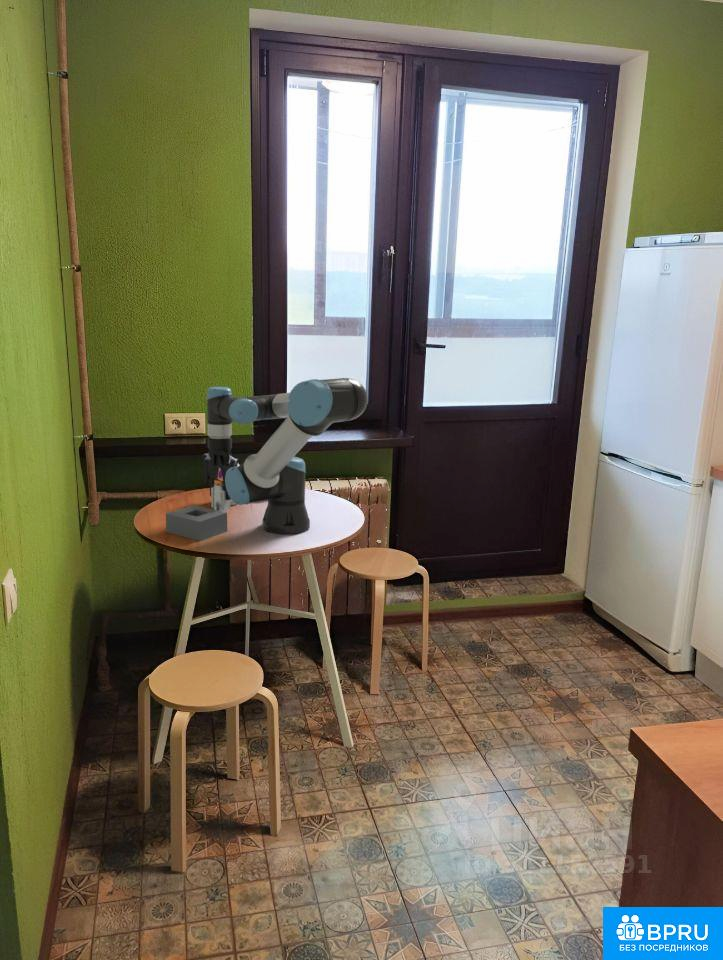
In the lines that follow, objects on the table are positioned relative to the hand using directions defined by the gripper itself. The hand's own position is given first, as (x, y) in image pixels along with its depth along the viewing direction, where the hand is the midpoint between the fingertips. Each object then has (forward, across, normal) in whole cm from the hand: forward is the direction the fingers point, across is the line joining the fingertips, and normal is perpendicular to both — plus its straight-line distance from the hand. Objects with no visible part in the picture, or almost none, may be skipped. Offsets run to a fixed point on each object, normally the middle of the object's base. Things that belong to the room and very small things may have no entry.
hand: (220, 507), depth 238 cm
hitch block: (+5, -1, +12) cm, 13 cm away
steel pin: (+5, 0, 0) cm, 5 cm away
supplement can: (+5, +13, -18) cm, 23 cm away
